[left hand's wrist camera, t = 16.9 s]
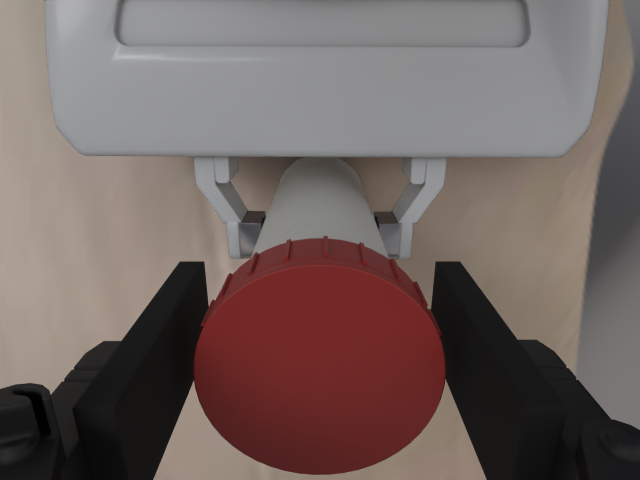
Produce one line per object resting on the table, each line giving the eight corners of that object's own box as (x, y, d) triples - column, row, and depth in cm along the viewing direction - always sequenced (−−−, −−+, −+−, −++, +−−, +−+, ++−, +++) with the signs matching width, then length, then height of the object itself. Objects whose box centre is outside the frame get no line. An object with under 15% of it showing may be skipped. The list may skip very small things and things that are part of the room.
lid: (479, 310, 12) (504, 347, 10) (350, 460, 14) (354, 510, 12) (281, 188, 11) (275, 209, 9) (168, 369, 13) (146, 411, 11)
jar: (339, 250, 27) (361, 464, 13) (263, 216, 27) (190, 400, 12) (378, 177, 26) (457, 321, 11) (298, 138, 25) (267, 236, 10)
